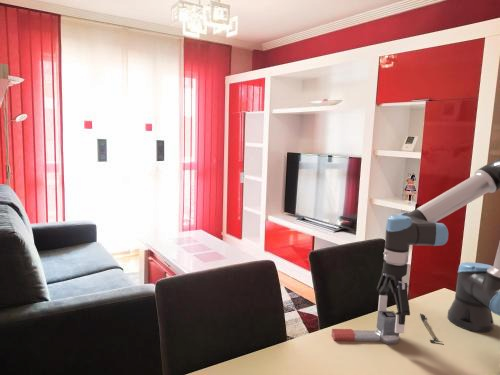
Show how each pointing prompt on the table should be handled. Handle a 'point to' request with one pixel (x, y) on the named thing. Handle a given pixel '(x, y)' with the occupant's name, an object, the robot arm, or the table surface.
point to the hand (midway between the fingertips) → (390, 322)
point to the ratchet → (364, 335)
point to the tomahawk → (429, 330)
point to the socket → (386, 323)
